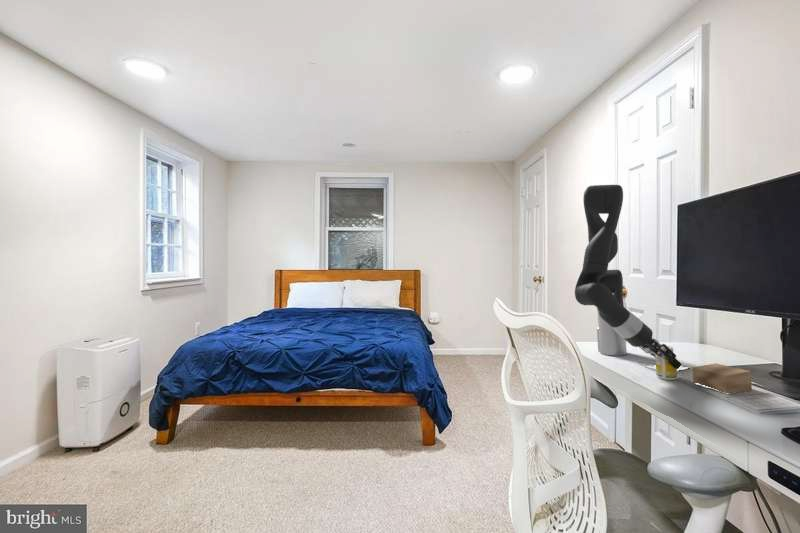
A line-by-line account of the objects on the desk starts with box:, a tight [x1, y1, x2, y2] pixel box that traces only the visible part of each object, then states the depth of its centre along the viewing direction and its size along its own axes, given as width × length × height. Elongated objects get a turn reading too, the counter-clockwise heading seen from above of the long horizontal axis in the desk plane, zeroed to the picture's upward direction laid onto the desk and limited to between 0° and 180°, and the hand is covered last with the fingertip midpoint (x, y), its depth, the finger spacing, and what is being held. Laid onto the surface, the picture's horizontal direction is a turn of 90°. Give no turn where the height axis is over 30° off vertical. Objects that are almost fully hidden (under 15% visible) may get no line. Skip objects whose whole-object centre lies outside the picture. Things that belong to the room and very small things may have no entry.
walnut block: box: [692, 362, 753, 394], centre depth 105 cm, size 9×9×5 cm
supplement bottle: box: [654, 345, 678, 381], centre depth 115 cm, size 5×5×10 cm
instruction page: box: [645, 365, 656, 371], centre depth 124 cm, size 8×10×1 cm
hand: (671, 363), depth 115 cm, fingers closed on supplement bottle, 5 cm apart
